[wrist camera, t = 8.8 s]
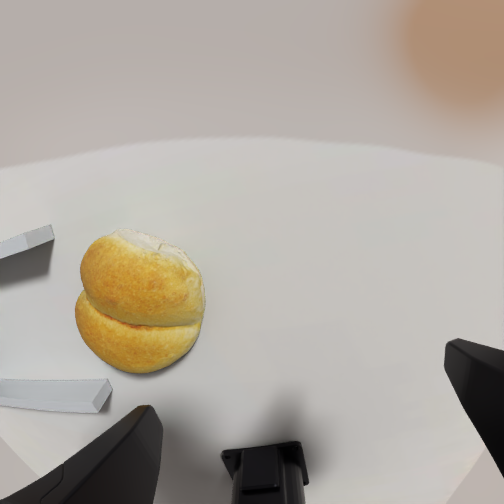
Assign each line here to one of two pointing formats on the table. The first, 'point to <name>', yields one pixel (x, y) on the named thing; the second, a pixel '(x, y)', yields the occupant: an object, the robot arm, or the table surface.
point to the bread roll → (139, 301)
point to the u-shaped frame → (49, 391)
